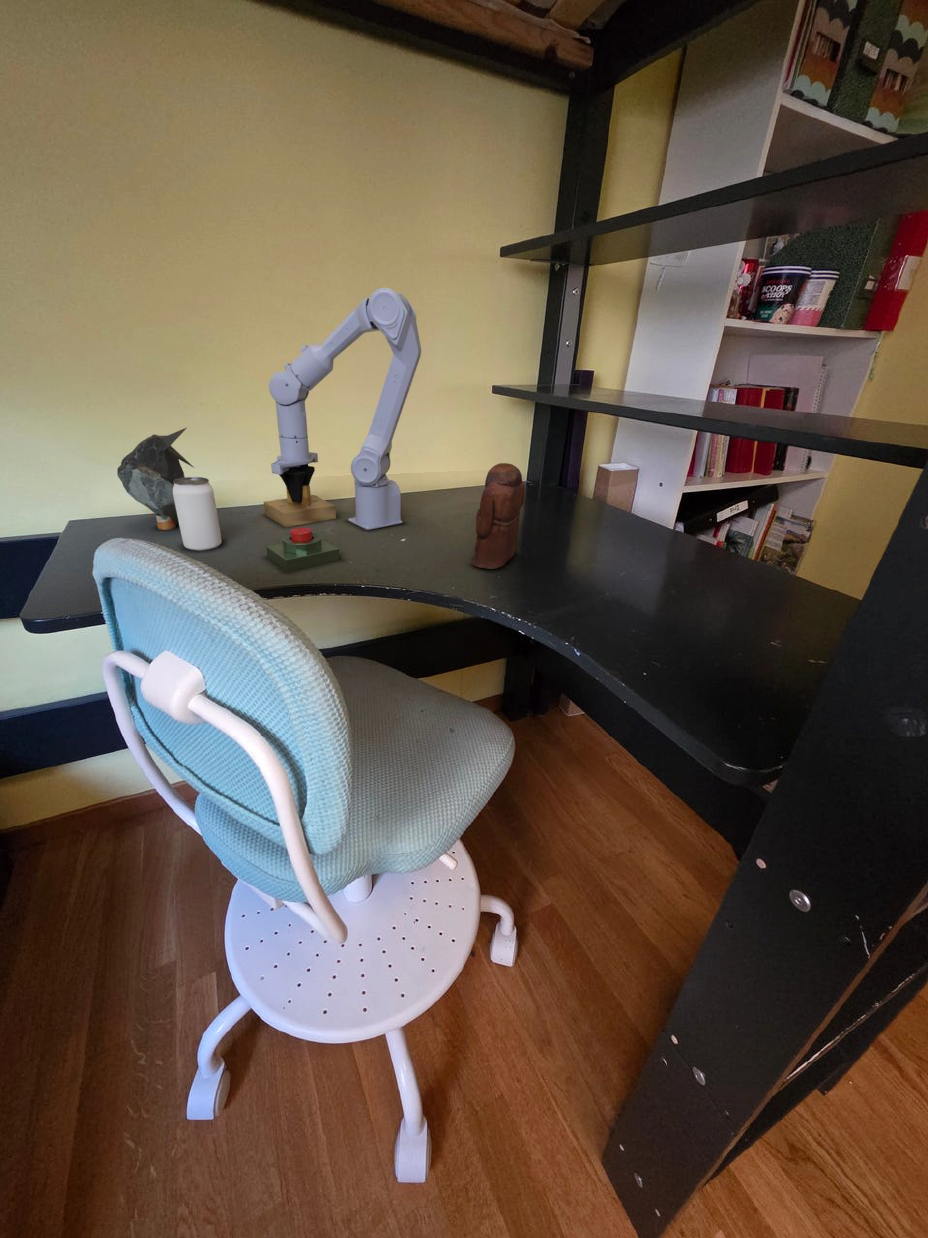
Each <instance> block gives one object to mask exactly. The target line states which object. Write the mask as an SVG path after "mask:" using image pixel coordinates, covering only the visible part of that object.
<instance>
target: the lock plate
mask: <svg viewBox="0 0 928 1238" xmlns="http://www.w3.org/2000/svg"><path fill="white" fill-rule="evenodd" d="M263 508H264V516H266V517H268V518H269V519H271V520H273V521H275V522H276V523H277V524H279V525H281V526H283V527H284V528H289V527H293V526H299V525H306V524H312V523H317V522H323V521H329V520H334V519H337V510H336V504H335V503H332V502H329V501H327V500H325V499H323V498H322V497H319V496H317V495H315V494H311V504H310V505H302V504H295V503H289V502H288V498H287V497H286V498H280V499H273V500H266V501H263Z"/></svg>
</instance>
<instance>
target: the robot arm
mask: <svg viewBox="0 0 928 1238" xmlns="http://www.w3.org/2000/svg"><path fill="white" fill-rule="evenodd" d="M372 332H381V333H382V334H383V336H385V339H386V342H387V343H388V345H389V347H390V350H391V352H392V357H391V360H390V364H389V367H388V370H387V373H386V376H385V380H384V382H383V386H382V389H381V391H380V395H379V397H378V401H377V405H376V408H375V411H374V414H373V418H372V420H371V424H370V426H369V430H368V433H367V435H366V437H365V439H364V441H363V442H362V445H361V447H360V451H359V453H358V454H357V455H355V456H354V458H353V459H352V461H351V463H350V473H351V475H352V477H353V479H354V502H355V503H354V505H355V506H354V507H355V516H353V517H349V518H347V521H348V522H349V523H352V524H354V525H356V526H358V527H360V528H362V529H364V530H366V531H371V530H376V529H380V528H385V527H392V526H395V525H400V524H403V520H402V519H401V518H402V517H401V514H402V511H401V509H402V504H401V503H402V501H401V499H402V497H401V496H402V495H401V494H402V493H401V490H400V486H399V485H398V484H397V482H396V481H394V480H392V479H391V480H390V479H389V477H388V475H387V473H388V472H389V470H390V468H391V451H392V448H393V439H394V435H395V432H396V430H397V427H398V423H399V421H400V419H401V415H402V412H403V408H404V406H405V403H406V401H407V397H408V394H409V392H410V388H411V385H412V382H413V380H414V377H415V373H416V371H417V367H418V365H419V362H420V360H421V356H422V346H421V341H420V335H419V329H418V325H417V314H416V312H415V310H414V308H413V306H412V305H411V303H410V301H409V299H408V298H407V297H406V296H405V295H404V294H402V293H399V292H396V291H395V290H393V289H392V288H389V287H380V288H378V289H376V290H374V291H373V292H372V294H371V295H370V296H369V297H366V298H365V299H363V300H362V301H361V302H360V303H359V304H358V305H357V306H356V307H355V308H354V309H353V310H351V312H350V313H349V315H348V316H346V318H344V319H343V321H342V322H341V323H339V325H338V326H337V327H336V329H334V330H333V331H332V333H330V335H328V337H327V338H326V339H325V340H324V341H323V342H322V343H321V344H316V343H310V344H309V345H306V344H305V345H303V346H301V348H300V352H301V353H300V354H299V355H298V356H297V357H296V358H295V359H293V360H292V362H290V363H289V362H288V363H286V364H285V365H284V366H283V368H284V371H276V372H275V373H273V375H272V377H271V378H270V380H269V384H268V390H269V393H270V397H272V399H273V400H274V401H275V410H276V421H277V422H276V423H277V430H278V440H279V450H280V455H277V456H276V460H275V461H274V462H272V463H270V468H271V473H272V474H274V475H279V477H280V478H281V480H282V482H283V484H285V488H286V487H287V489H288V492H289V495H290V498H291V500H292V502H295V503H302V496H303V492H302V488H303V485H307V486H310V484H311V481H312V477H313V475H314V474H315V472H316V471H315V470H316V469H315V466H311V465H309V464H312V463H314V464H315V463H316V464H317V463H318V462H319V456H318V454H319V453H317V452H313V451H312V452H311V451H310V446H309V445H310V444H309V435H308V434H309V433H308V421H307V412H306V400H307V398H308V397H309V394H310V391H312V390H313V389H314V388H315V387H317V385H318V384H320V383H321V382H322V381H323V380H324V379H325V378H326V377H328V375H329V374H331V372H332V371H333V370H334V361H335V359H336V358H337V357H338V356H339V355H340V354H342V353H343V352H344V351H345V350H347V349H348V348H349V347H350V346H351V345H352V344H353V343H355V342H356V341H357V340H359V338H360V337H362V336H363V335H364V334H366V333H372ZM287 489H286V490H287Z"/></svg>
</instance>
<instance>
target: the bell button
mask: <svg viewBox="0 0 928 1238" xmlns="http://www.w3.org/2000/svg"><path fill="white" fill-rule="evenodd" d="M289 533H291V541H295V542H306V541H311V540H312V533H313V531H312V529H311V528H309V527H295V528H292V529H290V532H289Z"/></svg>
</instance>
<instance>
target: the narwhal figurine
mask: <svg viewBox="0 0 928 1238" xmlns="http://www.w3.org/2000/svg"><path fill="white" fill-rule="evenodd" d="M186 430H187V427H185V428H182V429H180V430H177V431H175V432H172V433H170V434H168V435H159V434H152V435H151V436H148V437H146V438H145V439H143V440H141V441H140V442H139V443H137V445H136V446H135V447H134V449H132V451H131V452H129V453H127V455H125V456H124V457H123V458H122V459H121V462H120V465H119V466H118V467H117V477H118V479H119V480H120V482H121V484H122V487H123V489H124V491H125V492H126V493H127V494H128V495H129V496H131V498H133V499H134V500H135V501H136V502H137V503H140V504H141V505H143V506H145V507H146V508H148V509H149V510H150V511H151V512H152V513H154V514H155V518H156V526H157V529H158V530H162V531H169V530H174V529H176V528H177V525H178V524H179V521H178V516H177V511H176V507H175V502H174V497H173V487H174V483H173V481H174V480H175V479H179V478H184V477H186V476H185V472H184V470H183V467H182V465H181V463H180V461H181V462H182V463H185V464H187V465H188V466H190V467H191V468H194V466H193V465H192V464H191V463H190V462H189V461H188V460H187V459H186V458H185V457H184V456H183V455H182V454H180V452H178V451H177V450H176V449H175V448H174V447H173V446H172V445H173V443H175V442H176V440H178V438H179V437H180V436H181V435H182V434H183V433H184V432H185V431H186Z"/></svg>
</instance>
